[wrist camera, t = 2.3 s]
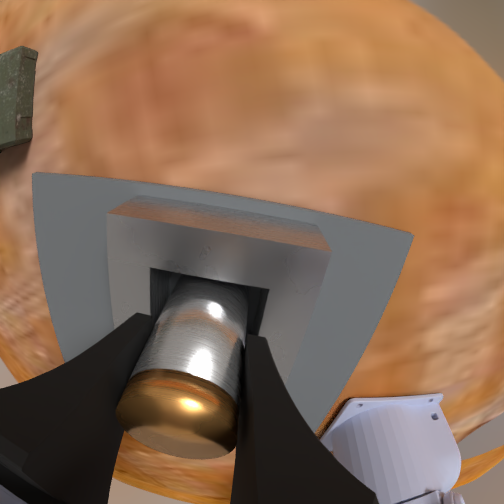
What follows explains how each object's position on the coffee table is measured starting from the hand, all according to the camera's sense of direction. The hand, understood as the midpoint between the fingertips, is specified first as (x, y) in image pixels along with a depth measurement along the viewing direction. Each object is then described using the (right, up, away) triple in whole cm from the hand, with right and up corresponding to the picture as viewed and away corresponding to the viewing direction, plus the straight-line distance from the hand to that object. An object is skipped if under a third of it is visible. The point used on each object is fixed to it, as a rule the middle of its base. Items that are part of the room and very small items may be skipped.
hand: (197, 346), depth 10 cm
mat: (-2, -2, +6) cm, 7 cm away
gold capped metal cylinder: (0, +2, +4) cm, 4 cm away
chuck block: (0, +2, +4) cm, 4 cm away
